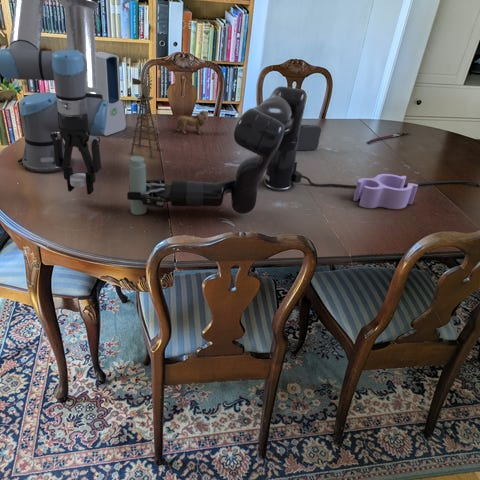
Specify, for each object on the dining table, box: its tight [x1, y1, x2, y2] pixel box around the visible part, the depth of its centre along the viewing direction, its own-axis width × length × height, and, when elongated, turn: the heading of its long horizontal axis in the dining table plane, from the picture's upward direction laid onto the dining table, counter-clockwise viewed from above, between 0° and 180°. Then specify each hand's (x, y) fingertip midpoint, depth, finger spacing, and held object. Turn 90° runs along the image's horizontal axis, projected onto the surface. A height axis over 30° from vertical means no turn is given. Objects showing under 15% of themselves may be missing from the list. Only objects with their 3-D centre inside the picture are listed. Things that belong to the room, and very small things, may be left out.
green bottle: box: [128, 155, 148, 216], centre depth 134 cm, size 5×5×17 cm
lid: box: [70, 172, 87, 188], centre depth 135 cm, size 5×5×2 cm
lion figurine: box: [173, 110, 209, 135], centre depth 195 cm, size 15×5×9 cm, turn 110°
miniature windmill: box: [130, 70, 160, 158], centre depth 168 cm, size 9×8×30 cm
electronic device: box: [96, 51, 127, 137], centre depth 182 cm, size 12×8×30 cm, turn 148°
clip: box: [352, 173, 419, 210], centre depth 157 cm, size 20×12×7 cm, turn 109°
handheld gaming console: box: [297, 124, 322, 151], centre depth 189 cm, size 23×3×10 cm, turn 108°
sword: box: [367, 132, 410, 144], centre depth 214 cm, size 31×3×1 cm, turn 126°
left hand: (80, 190), depth 137 cm, fingers closed on lid, 5 cm apart
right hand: (128, 191), depth 135 cm, fingers closed on green bottle, 4 cm apart
